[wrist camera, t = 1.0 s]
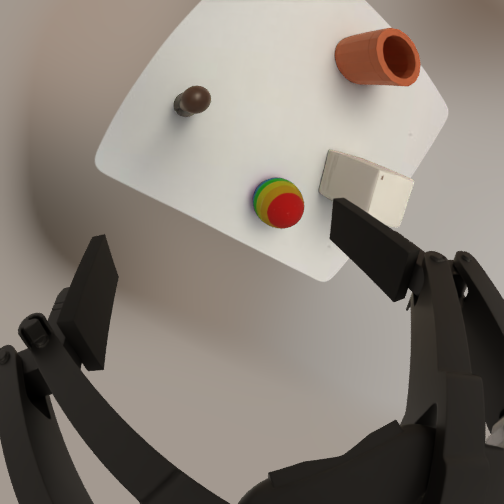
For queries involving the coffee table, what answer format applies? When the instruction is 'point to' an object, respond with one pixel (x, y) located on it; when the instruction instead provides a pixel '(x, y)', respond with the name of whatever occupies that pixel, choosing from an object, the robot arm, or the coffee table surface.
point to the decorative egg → (278, 203)
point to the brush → (192, 101)
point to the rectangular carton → (366, 186)
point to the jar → (378, 58)
